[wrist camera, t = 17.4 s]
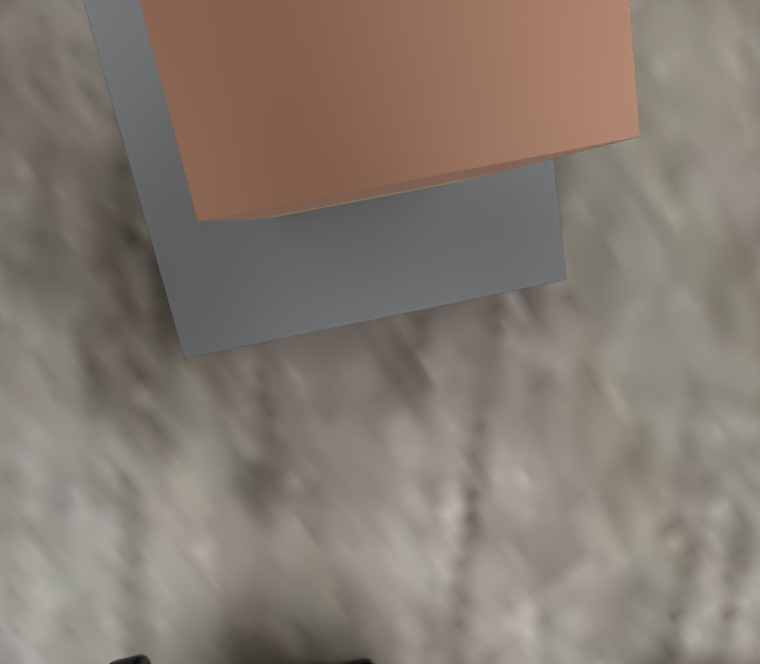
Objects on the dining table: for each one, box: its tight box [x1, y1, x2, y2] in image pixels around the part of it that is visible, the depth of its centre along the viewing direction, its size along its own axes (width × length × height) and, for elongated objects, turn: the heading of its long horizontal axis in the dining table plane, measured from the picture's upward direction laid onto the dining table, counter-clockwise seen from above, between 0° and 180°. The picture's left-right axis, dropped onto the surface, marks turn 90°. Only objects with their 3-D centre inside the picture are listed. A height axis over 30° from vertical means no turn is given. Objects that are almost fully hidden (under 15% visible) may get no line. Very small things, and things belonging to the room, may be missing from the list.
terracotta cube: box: [140, 0, 640, 221], centre depth 8 cm, size 5×5×5 cm
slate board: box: [83, 0, 566, 359], centre depth 16 cm, size 12×12×3 cm
